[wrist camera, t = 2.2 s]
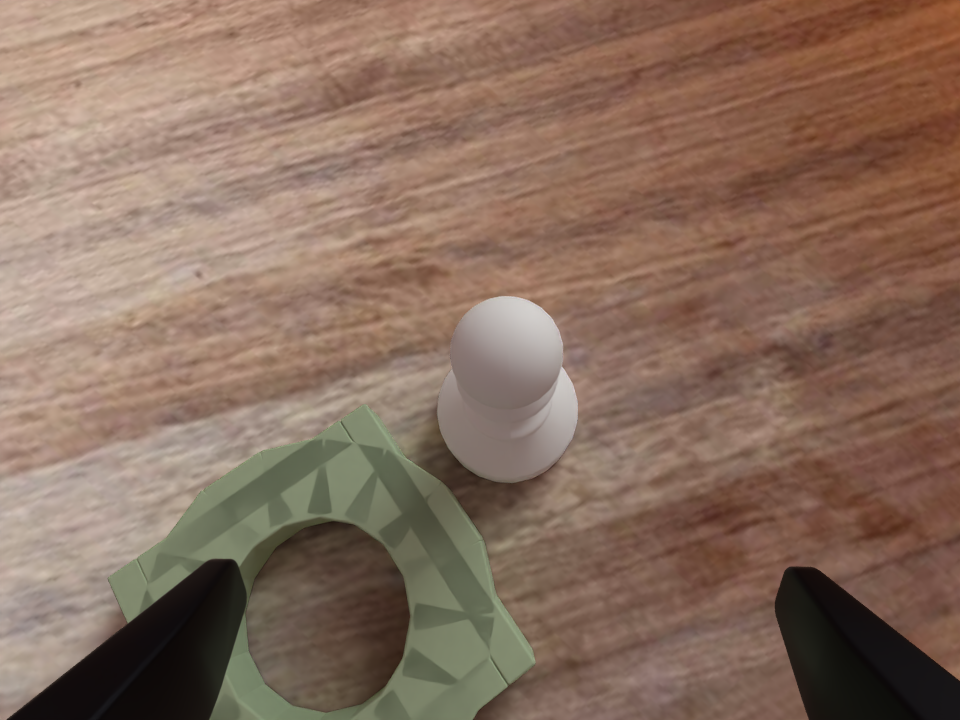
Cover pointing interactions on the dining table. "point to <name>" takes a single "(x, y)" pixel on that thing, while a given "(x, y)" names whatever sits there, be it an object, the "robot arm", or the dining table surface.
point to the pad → (387, 518)
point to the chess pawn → (507, 392)
